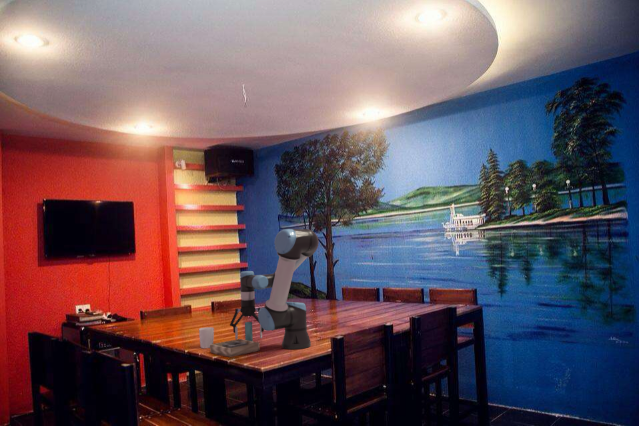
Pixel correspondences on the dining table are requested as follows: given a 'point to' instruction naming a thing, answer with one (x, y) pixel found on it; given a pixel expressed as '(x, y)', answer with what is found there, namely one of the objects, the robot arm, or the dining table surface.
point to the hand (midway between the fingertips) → (248, 338)
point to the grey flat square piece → (234, 347)
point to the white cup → (206, 336)
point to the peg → (248, 331)
